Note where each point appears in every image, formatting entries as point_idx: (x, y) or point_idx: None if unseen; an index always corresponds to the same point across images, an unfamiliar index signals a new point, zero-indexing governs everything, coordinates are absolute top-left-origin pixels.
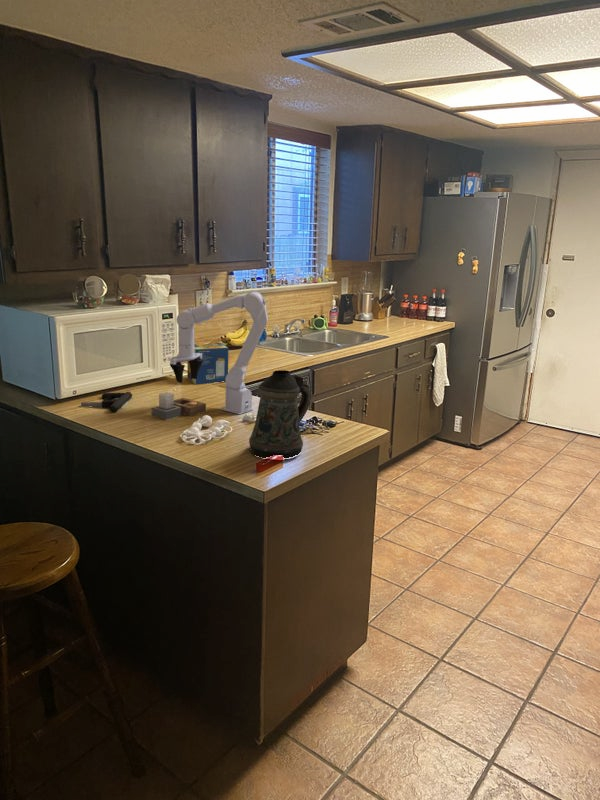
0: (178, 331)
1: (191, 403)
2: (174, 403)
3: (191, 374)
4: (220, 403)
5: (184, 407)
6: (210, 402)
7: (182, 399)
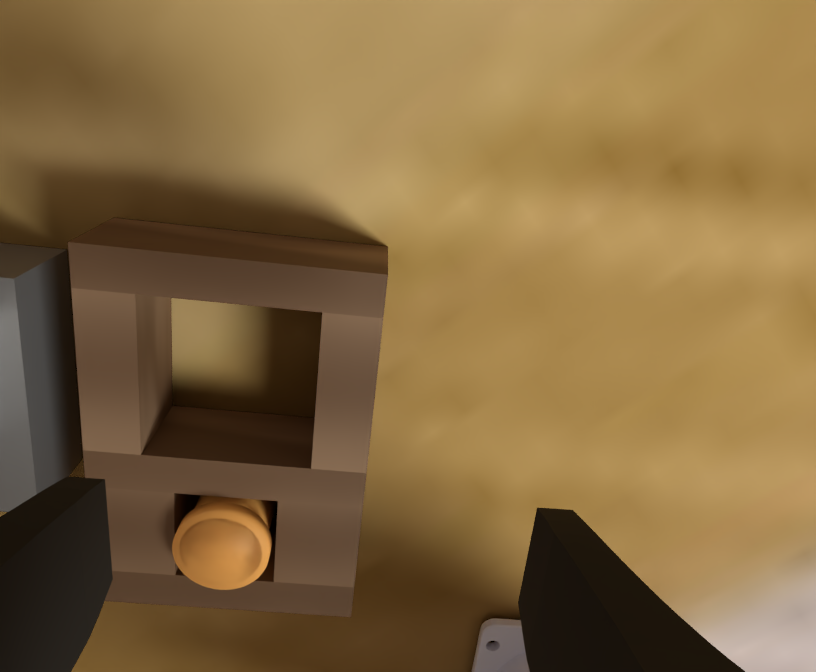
0: None
1: (191, 554)
2: (92, 355)
3: (559, 567)
4: (680, 507)
5: None
6: (662, 411)
7: (318, 309)
